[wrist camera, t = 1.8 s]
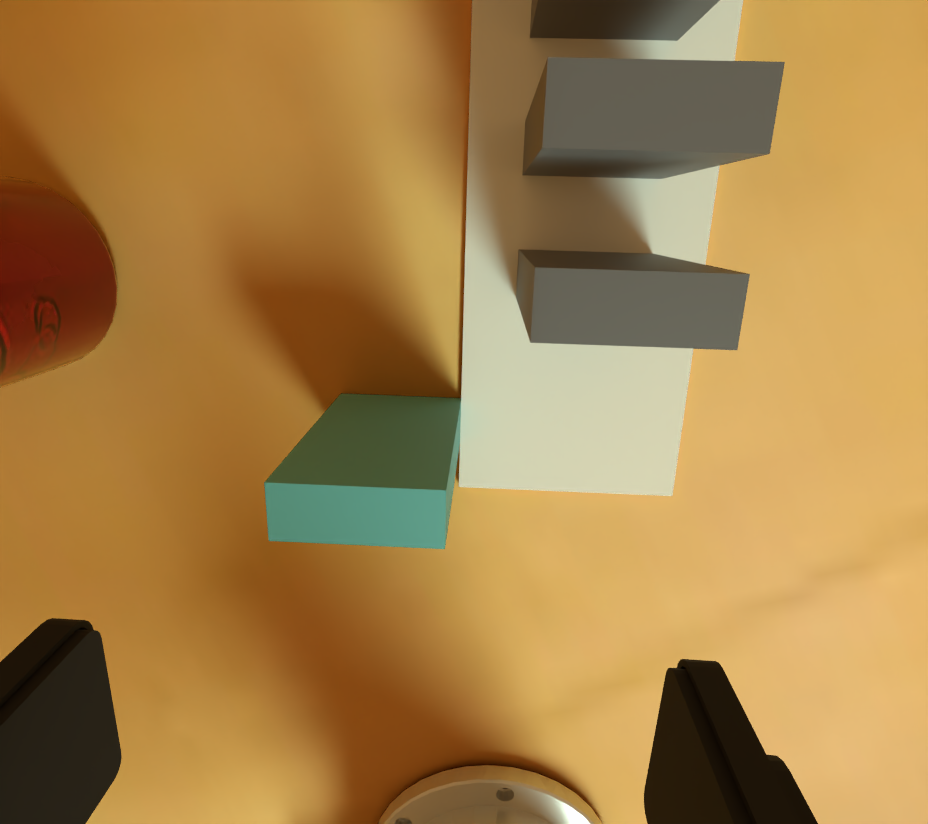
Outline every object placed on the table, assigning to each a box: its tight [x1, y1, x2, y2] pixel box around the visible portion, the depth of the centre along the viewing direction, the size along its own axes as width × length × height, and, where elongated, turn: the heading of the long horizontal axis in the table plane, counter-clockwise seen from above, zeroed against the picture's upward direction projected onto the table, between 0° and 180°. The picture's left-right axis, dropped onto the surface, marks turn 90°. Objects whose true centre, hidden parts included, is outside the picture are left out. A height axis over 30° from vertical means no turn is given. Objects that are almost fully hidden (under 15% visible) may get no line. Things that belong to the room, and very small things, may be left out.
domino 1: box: [264, 393, 461, 549], centre depth 21 cm, size 2×5×9 cm, turn 88°
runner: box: [459, 0, 743, 496], centre depth 22 cm, size 30×9×1 cm, turn 179°
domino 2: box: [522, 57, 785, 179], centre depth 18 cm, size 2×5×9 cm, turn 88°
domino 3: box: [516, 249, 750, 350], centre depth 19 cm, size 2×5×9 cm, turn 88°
